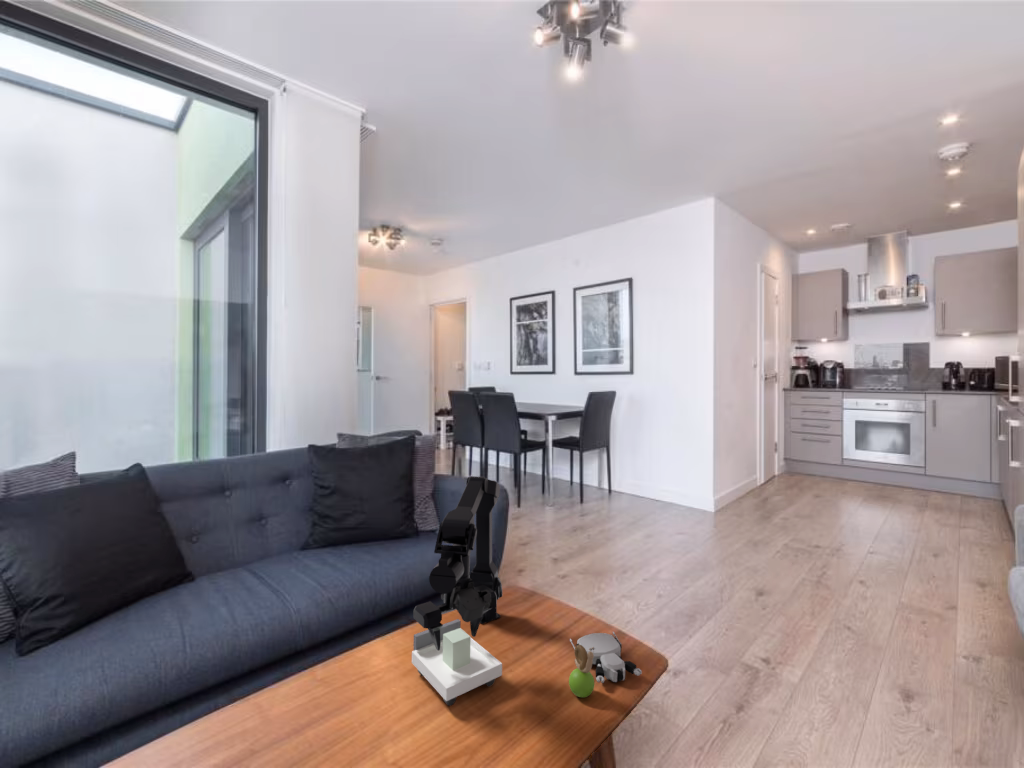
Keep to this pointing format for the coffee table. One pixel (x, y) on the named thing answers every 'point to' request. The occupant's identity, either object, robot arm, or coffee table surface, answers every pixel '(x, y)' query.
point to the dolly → (442, 675)
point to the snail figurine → (582, 673)
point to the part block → (456, 648)
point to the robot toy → (607, 656)
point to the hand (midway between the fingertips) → (456, 642)
